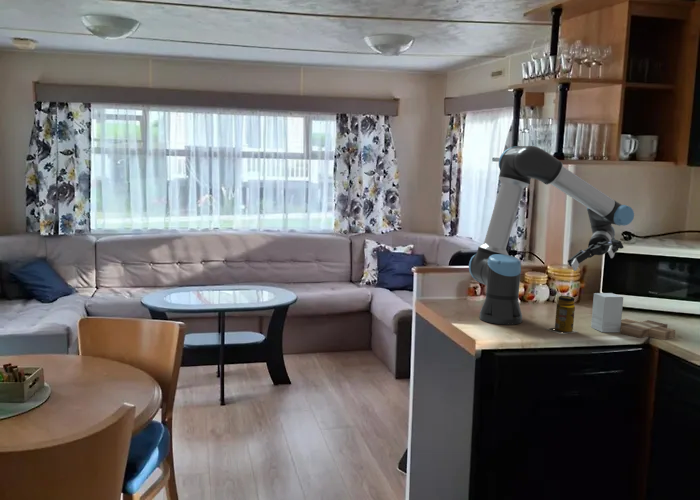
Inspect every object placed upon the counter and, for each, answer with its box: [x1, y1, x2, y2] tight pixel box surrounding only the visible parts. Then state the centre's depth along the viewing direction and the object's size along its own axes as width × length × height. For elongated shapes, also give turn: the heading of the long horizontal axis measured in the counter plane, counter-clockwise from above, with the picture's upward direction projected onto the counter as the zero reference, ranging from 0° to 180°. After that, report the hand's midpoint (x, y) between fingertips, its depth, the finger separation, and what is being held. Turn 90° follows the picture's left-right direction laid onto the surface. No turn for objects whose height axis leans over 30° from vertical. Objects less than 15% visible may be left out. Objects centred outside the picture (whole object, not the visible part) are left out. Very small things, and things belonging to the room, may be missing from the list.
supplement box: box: [590, 292, 624, 333], centre depth 228 cm, size 7×7×13 cm
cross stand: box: [620, 318, 676, 341], centre depth 227 cm, size 18×18×3 cm
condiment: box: [546, 295, 579, 335], centre depth 224 cm, size 7×8×12 cm
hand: (591, 261), depth 231 cm, fingers open, 13 cm apart
